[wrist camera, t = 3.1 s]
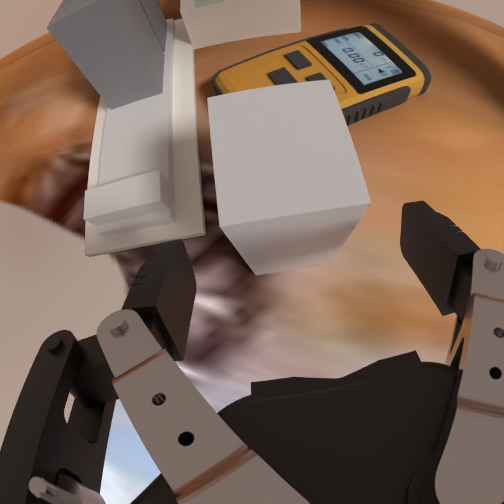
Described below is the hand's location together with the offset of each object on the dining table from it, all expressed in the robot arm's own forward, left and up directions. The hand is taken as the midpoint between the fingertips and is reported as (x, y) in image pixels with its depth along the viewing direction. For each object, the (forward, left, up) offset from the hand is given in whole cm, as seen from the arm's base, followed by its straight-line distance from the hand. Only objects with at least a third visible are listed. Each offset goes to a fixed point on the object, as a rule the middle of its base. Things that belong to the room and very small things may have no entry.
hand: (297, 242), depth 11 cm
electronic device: (-5, -14, -8) cm, 17 cm away
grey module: (0, -3, -8) cm, 8 cm away
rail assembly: (+9, -15, -8) cm, 20 cm away
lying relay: (0, -24, -8) cm, 25 cm away
